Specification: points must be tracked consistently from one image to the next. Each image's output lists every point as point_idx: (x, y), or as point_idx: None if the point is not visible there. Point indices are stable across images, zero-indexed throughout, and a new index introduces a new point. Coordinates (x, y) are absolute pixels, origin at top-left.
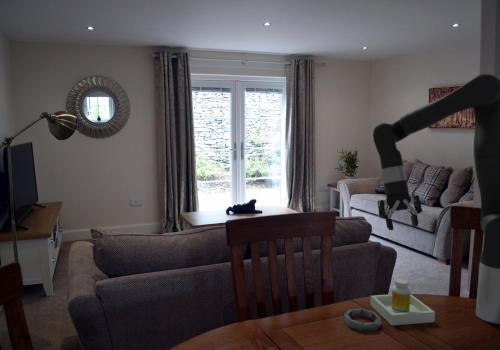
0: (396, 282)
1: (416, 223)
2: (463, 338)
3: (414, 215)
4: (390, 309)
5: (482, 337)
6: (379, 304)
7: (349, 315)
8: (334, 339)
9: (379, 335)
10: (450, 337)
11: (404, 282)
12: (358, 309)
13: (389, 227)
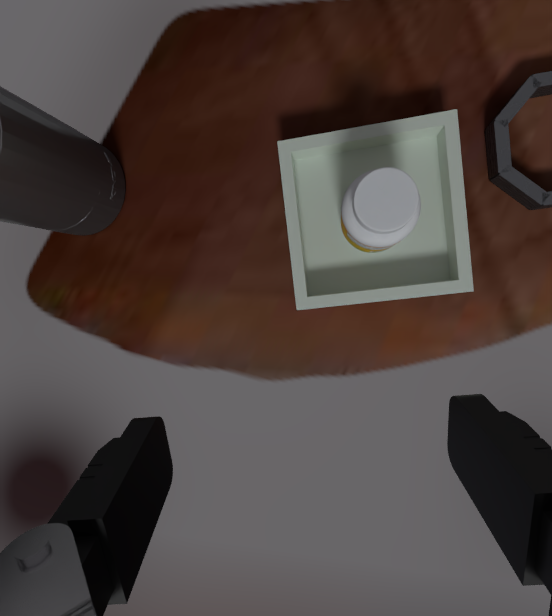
0: (417, 191)
1: (132, 433)
2: (244, 47)
3: (83, 538)
4: None
5: (184, 57)
6: (465, 213)
7: None
8: None
9: (522, 51)
10: (282, 51)
11: (379, 181)
12: None
13: (513, 420)
